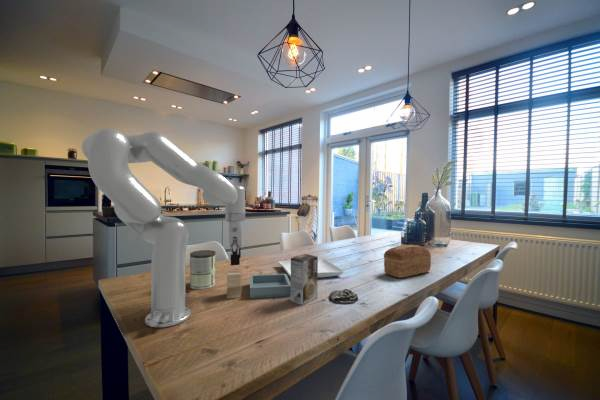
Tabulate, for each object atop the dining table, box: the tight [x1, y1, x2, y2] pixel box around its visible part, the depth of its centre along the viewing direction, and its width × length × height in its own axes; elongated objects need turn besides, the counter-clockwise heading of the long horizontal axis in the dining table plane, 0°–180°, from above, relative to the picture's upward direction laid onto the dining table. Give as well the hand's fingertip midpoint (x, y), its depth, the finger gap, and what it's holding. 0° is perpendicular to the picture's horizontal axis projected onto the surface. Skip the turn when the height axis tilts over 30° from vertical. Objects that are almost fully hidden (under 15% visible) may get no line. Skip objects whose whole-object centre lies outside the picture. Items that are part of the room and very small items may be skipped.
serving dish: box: [249, 273, 291, 299], centre depth 107 cm, size 16×16×4 cm
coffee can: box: [189, 249, 216, 290], centre depth 111 cm, size 10×10×14 cm
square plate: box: [277, 258, 345, 279], centre depth 134 cm, size 27×27×4 cm
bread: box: [383, 244, 432, 279], centre depth 134 cm, size 12×28×14 cm, turn 122°
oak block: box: [226, 270, 242, 299], centre depth 100 cm, size 5×5×9 cm
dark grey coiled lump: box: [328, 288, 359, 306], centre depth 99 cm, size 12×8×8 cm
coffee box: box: [289, 253, 319, 306], centre depth 97 cm, size 9×6×16 cm
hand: (235, 261), depth 101 cm, fingers open, 9 cm apart
